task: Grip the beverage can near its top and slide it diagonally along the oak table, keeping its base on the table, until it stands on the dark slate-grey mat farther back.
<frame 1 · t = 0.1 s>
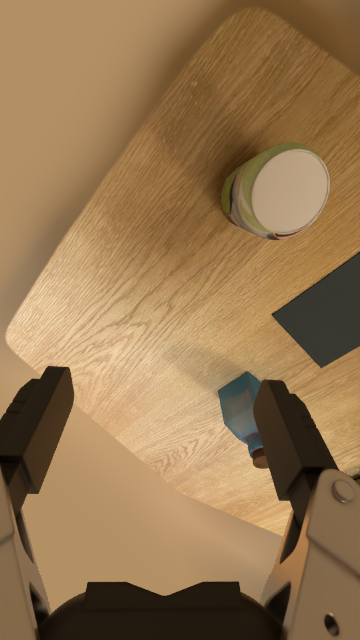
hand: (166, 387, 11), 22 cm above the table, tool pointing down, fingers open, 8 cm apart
beverage can: (247, 187, 27), on the table
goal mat: (342, 314, 36), on the table
perfume bottle: (243, 389, 44), on the table
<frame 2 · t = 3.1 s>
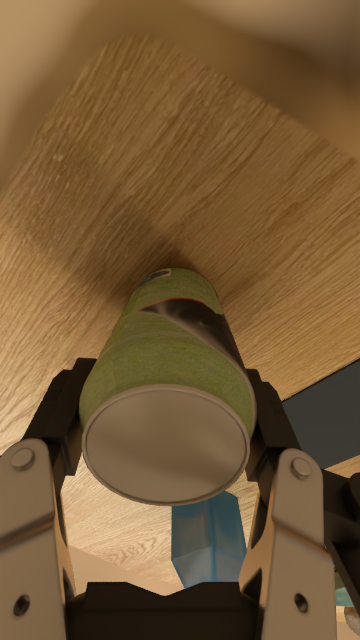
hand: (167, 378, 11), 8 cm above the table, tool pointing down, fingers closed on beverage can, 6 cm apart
beverage can: (172, 294, 18), on the table, touching gripper
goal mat: (325, 429, 27), on the table
seashell: (353, 601, 71), on the table
perfume bottle: (204, 496, 35), on the table
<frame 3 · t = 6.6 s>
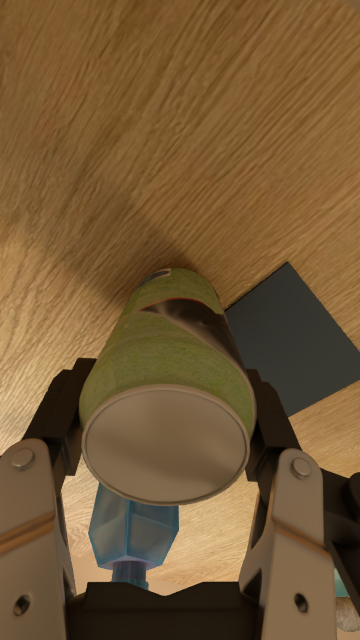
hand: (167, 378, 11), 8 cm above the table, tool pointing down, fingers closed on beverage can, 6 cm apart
beverage can: (172, 294, 18), on the table, touching gripper
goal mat: (260, 371, 22), on the table
saucer: (350, 558, 52), on the table
seashell: (334, 593, 67), on the table
perfume bottle: (140, 464, 30), on the table
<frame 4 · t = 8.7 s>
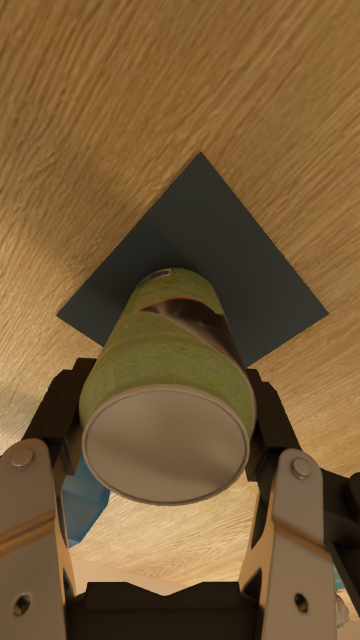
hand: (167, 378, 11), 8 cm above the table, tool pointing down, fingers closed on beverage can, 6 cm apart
beverage can: (172, 294, 18), on the table, touching gripper
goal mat: (193, 313, 19), on the table
seashell: (318, 587, 64), on the table
perfume bottle: (78, 435, 27), on the table
when the fingers open (8 cm above the table, at t = 10.2 s): beverage can stays where it is, resting on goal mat.
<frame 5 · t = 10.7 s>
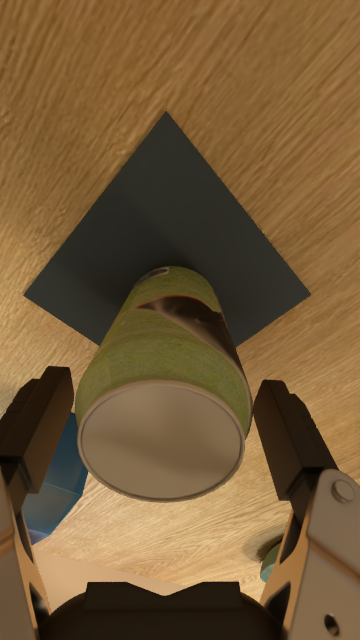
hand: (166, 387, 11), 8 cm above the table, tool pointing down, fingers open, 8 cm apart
beverage can: (170, 292, 18), resting on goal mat
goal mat: (169, 294, 18), on the table
saucer: (322, 546, 47), on the table
perfume bottle: (56, 426, 26), on the table
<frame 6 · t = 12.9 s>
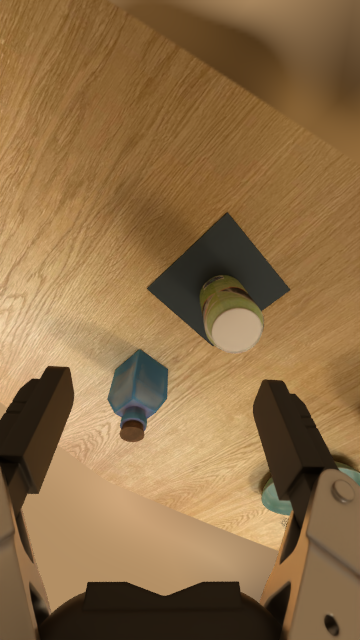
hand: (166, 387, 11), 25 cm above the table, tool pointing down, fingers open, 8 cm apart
beverage can: (219, 288, 36), resting on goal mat
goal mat: (218, 288, 36), on the table
saucer: (307, 479, 64), on the table
perfume bottle: (141, 368, 44), on the table
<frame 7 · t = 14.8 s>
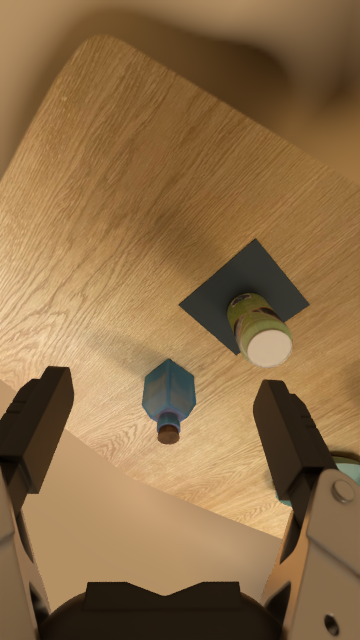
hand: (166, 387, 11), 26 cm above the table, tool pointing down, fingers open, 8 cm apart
beverage can: (245, 303, 39), resting on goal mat
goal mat: (244, 304, 39), on the table
saucer: (318, 474, 68), on the table
perfume bottle: (169, 375, 47), on the table
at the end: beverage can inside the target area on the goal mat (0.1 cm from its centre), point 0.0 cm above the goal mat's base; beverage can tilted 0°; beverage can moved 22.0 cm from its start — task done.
